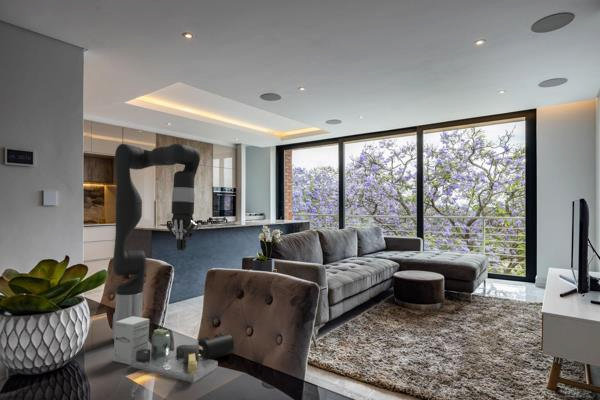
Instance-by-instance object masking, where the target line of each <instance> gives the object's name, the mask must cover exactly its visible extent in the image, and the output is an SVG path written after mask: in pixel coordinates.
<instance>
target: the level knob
mask: <svg viewBox="0 0 600 400" xmlns="http://www.w3.org/2000/svg"><path fill="white" fill-rule="evenodd" d="M187 345H188V344H187ZM199 349H200V346H199V345H198V344H189V345H188V346H186V347H184V363H186V364H188V371H190V372H193V371H196V370H197V362H198V360H199V356H200V354H199Z"/></svg>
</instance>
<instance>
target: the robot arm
mask: <svg viewBox="0 0 600 400" xmlns="http://www.w3.org/2000/svg"><path fill="white" fill-rule="evenodd" d="M200 163H201V153H200V151H199V150H198V148H196V147H195V146H190V145H186V144H181V143H173V144H171V145H170V144H169V145H167V146H158V147H155V148H153V149H152V150H148V149H144V148H141V147H138V146H134V145H131V144H127V143H126V144H125V143H121V144H118V146H117V147H116V149H115V153H114V166H115V167H114V168H115V179H116V180H115V181H116V183H115V184H116V186H115V187H116V193H115V194H116V197H115V239H114V249H113V260H112V269H113V272H114V275H115V276H119V277H120V276H132V277H130V278H129V279H128V280H126V281H125V282H122V283H120V284H118V285H117V286H116V290H115V291H116V292H115V309H114V310H115V311H114V312H113V314H112V315H113V316H112V331H111V339H112V338H113V341H114V342H115V327H116V322H117V321H119V320H123V319H126V318H129V317H132V316H134V317H140V318H143V302H144V301H143V297H144V295H143V294H144V285H145V275H146V265H147V257H146V253H145V251H144V250H141V249H138V250H136V249H135V250H126V245H127V242H128V239H129V238H130V236H131V234H132V233H133V231H134V230H135V229H136V227H137V226H138V224H139V222H140V221H141V219H142V218H143V217H142V215H143V200H142V197H141V195H140V193H139V191H138V190H137V188H136V186H135V184H134V182H133V180H132V176H131V170H135V171H137V170H143V169H146V168H151V167H154V166H155V167H156V166H162V167H163V166H174V165H178V164H179V165H182V166H184V168H183V170H179V171H175V173H174V175H173V185H172V187H173V189H172V196H171V214H172V217H171V221H170V222H167V223H166V224H165V225H166V228H167V229H168V231H169V233H170V234H171V236H172V238H175V239H176V249H177V251H185V250H186V248H187V240H188V239H190V238H192V236H193V235H194V233H195V232H196V230H198V228H199V224H198V223H196V222H195V221H194V217H193V216H194V214H195V196H196V195H195V177H196V175H197V171H198V169H199V165H200Z"/></svg>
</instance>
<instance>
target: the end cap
mask: <svg viewBox="0 0 600 400" xmlns="http://www.w3.org/2000/svg"><path fill="white" fill-rule="evenodd" d="M213 337H214V338H213ZM213 337H212V338H210V337H203V338H200V339H198V343H197V345H198V346H199V347H201V348H202V349H201V348H199V357H202V358H206V359H211V360H215V359H216V360H217V359H219V358H221V357H224V356H228V355H230V354H231V353H232V352H233V351H234V349H235V342H234V341H235V340H234V338H233V336H232V335H231V334H230V333H228V334H223V333H218V334H215V335H213Z"/></svg>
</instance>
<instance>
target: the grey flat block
mask: <svg viewBox="0 0 600 400" xmlns="http://www.w3.org/2000/svg"><path fill="white" fill-rule="evenodd" d="M169 331H170V330H167V329H162V328H157V329H154V330H153V333H152V334H151V345H150V346H151V347H150V349H149V348H148V349H141V350H138V351H137V352H136V359H133V360H132V364H131V365H130V366H131V368H134V369H138V370H142V371H146V372H150V373H153V374H157V375H162V376H164V377H169V378H174V379H177V380H180V381H185V382H188V383H191V384H194V383H196V382H197V381H199V380H200V379H203V378H204V377H205V376H207V375H208V374H210V373H212V372H213V371H214V370H216V369H218V364H219V361H218V360H215V359H213V360H211V359H206V358H202V357H199V360H198V362H197V370H196V371H193V372H190V371H188V364H186V363H184V347H186V346H188V344H180V345H178V346H176V350H175V351H173V350H171V349H170V348H171V347H170V346H171V331H170V332H169Z"/></svg>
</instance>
